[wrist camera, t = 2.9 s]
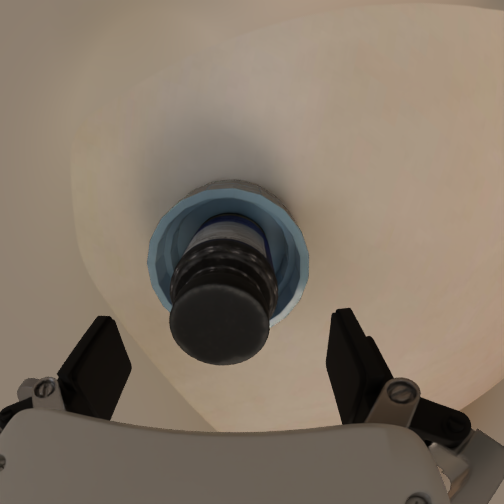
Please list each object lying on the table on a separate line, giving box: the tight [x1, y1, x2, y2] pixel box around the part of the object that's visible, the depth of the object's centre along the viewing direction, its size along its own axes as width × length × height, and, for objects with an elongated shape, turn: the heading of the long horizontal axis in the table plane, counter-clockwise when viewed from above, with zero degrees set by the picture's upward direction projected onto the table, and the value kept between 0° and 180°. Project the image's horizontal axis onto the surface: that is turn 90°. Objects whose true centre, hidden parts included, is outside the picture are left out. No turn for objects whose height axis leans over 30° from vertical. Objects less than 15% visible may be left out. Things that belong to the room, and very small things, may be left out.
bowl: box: [147, 180, 309, 328], centre depth 21 cm, size 11×11×5 cm
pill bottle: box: [169, 213, 278, 365], centre depth 18 cm, size 6×6×11 cm
